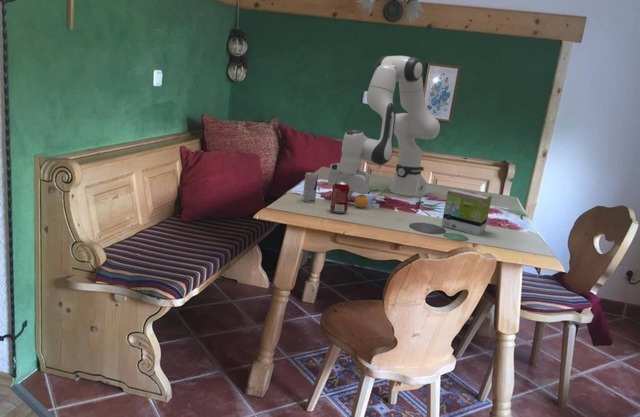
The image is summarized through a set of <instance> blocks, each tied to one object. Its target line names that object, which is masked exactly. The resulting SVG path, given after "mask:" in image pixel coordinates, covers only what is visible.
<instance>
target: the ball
mask: <svg viewBox="0 0 640 417" xmlns="http://www.w3.org/2000/svg"><path fill="white" fill-rule="evenodd" d="M354 204H355V205H356V207H357V208H359V209H364V208H366V207H367V206H368V204H369V199H368V197H367V196H366V195H364V194H359V195H356V197H355V199H354Z"/></svg>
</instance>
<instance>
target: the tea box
mask: <svg viewBox="0 0 640 417" xmlns="http://www.w3.org/2000/svg"><path fill="white" fill-rule="evenodd" d="M492 197H493V195H491V194H486V193H482V192H477V191H473V190H467V189H464V188H459V187H454V188H452V189H450V190H447V195H446V199H445V205H444V210H443V215H442V219H441V221H442V222H441V227H443V228H449V229H453V230H457V231H461V232H464V233H468V234H472V235H475V236H479V235H480V234H482V233H484V232H485V231H486V227H487V222H488V217H489V213H490V208H491V203H492Z"/></svg>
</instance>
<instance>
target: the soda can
mask: <svg viewBox="0 0 640 417" xmlns="http://www.w3.org/2000/svg"><path fill="white" fill-rule="evenodd" d="M348 184H349V183H347V182H341V181H336V182H335V184H334V185H333V186H332V188H331V189H332V191H331V198H330V208H329V209H330V211H331V212H332V213H335V214H339V213H342V214H345V213H348V212H347V211H348V205H349V200H348V198H349V190H350V188H349V186H348Z"/></svg>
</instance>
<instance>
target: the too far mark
mask: <svg viewBox="0 0 640 417" xmlns="http://www.w3.org/2000/svg"><path fill="white" fill-rule="evenodd" d="M443 237H445V238H447V239H449V240H453V241H459V242H466V241H468V240H469V236H466V235H464V234H460V233H456V232H446V233H443Z"/></svg>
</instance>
